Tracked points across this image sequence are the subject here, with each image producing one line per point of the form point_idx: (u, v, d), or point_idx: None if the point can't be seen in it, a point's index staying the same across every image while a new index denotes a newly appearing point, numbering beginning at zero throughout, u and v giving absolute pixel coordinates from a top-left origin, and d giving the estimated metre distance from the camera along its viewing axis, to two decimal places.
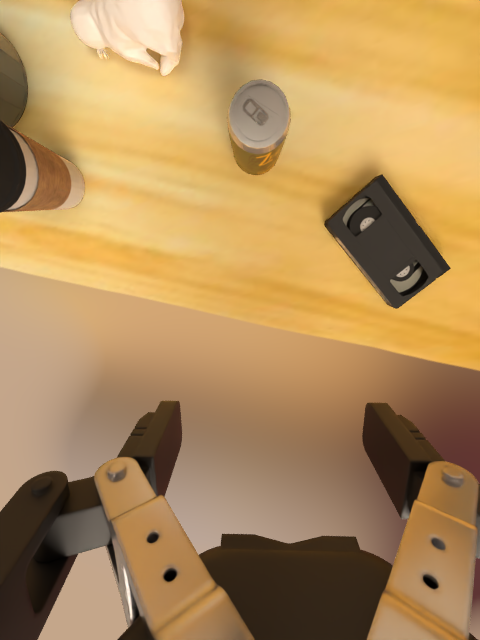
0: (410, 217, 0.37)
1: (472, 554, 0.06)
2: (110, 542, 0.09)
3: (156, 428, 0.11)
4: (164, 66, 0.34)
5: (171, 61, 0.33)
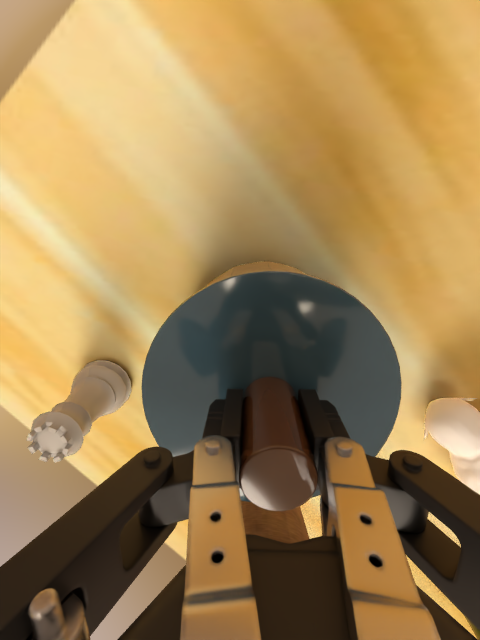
0: None
1: (390, 516, 0.07)
2: None
3: (232, 412, 0.12)
4: None
5: None
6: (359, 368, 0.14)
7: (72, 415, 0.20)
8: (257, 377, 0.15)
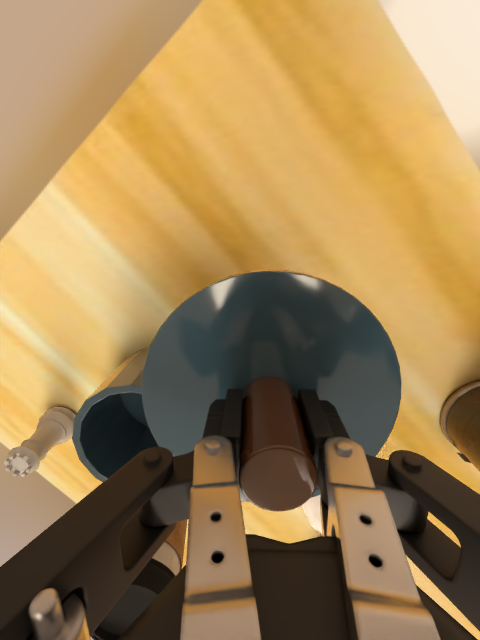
0: None
1: (389, 516, 0.07)
2: None
3: (232, 412, 0.12)
4: None
5: None
6: (359, 368, 0.14)
7: (33, 448, 0.32)
8: (257, 377, 0.15)
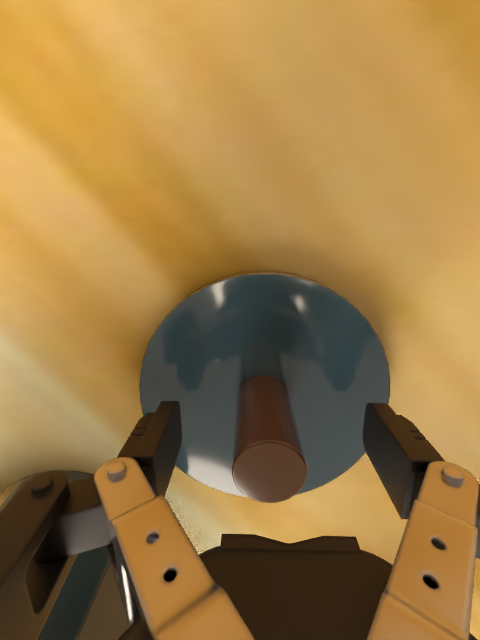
0: None
1: (472, 554, 0.06)
2: (110, 542, 0.09)
3: (156, 428, 0.11)
4: None
5: None
6: (349, 366, 0.15)
7: None
8: (251, 375, 0.15)
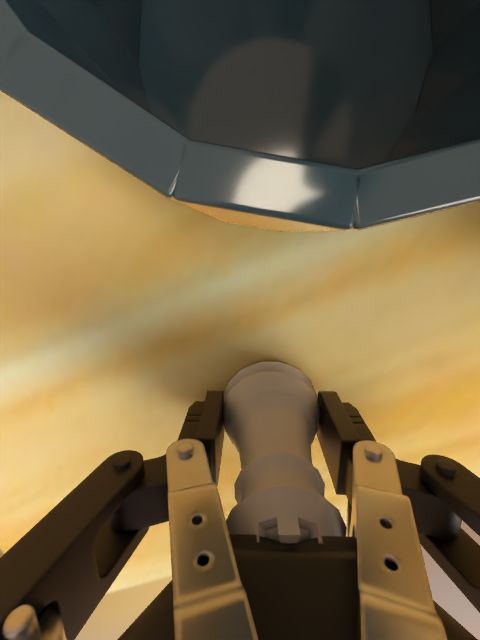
0: None
1: (412, 523, 0.07)
2: None
3: (210, 414, 0.12)
4: None
5: None
6: None
7: (259, 485, 0.09)
8: None
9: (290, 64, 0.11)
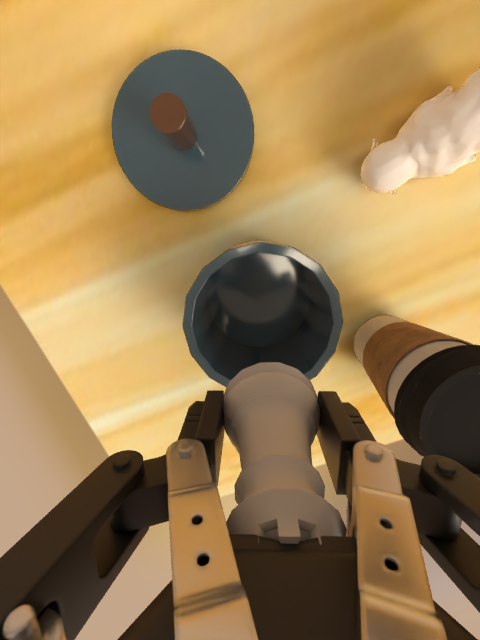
0: None
1: (412, 523, 0.07)
2: None
3: (210, 414, 0.12)
4: None
5: None
6: (175, 74, 0.26)
7: (259, 487, 0.09)
8: None
9: (261, 301, 0.31)
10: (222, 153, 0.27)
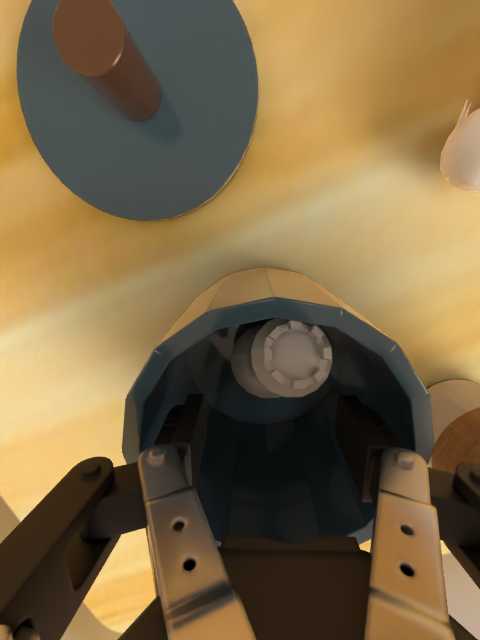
0: None
1: (436, 534, 0.07)
2: None
3: (188, 418, 0.12)
4: None
5: None
6: None
7: None
8: None
9: None
10: (205, 125, 0.16)
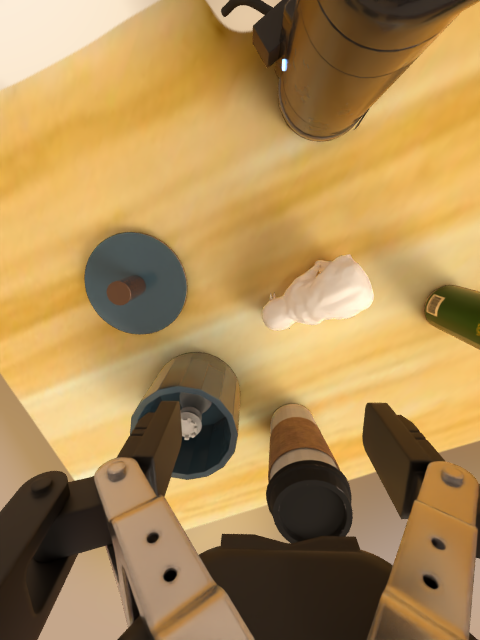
0: None
1: (472, 554, 0.06)
2: (111, 542, 0.09)
3: (156, 428, 0.11)
4: None
5: None
6: (129, 247, 0.36)
7: None
8: None
9: None
10: (164, 298, 0.38)
